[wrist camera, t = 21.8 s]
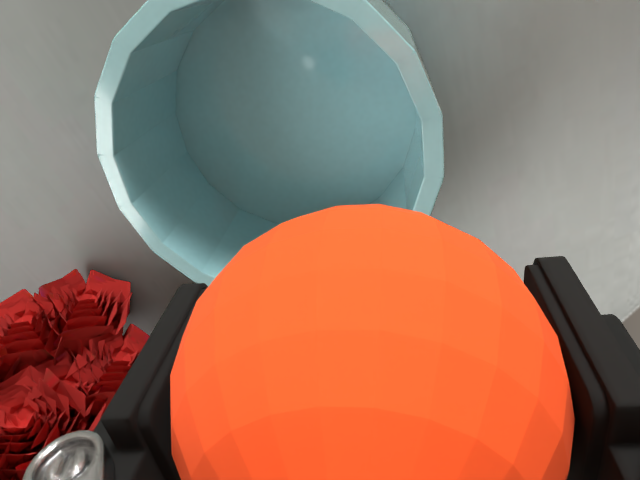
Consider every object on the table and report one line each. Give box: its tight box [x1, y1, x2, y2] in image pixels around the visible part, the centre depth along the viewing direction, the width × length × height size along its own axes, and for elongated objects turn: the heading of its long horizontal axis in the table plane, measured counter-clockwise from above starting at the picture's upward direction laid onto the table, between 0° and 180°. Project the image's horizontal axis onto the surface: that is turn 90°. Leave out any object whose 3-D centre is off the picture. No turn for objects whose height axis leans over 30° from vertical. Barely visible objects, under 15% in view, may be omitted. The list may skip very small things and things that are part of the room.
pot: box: [94, 0, 444, 287], centre depth 23 cm, size 15×15×8 cm
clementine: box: [170, 204, 575, 480], centre depth 9 cm, size 8×7×7 cm
